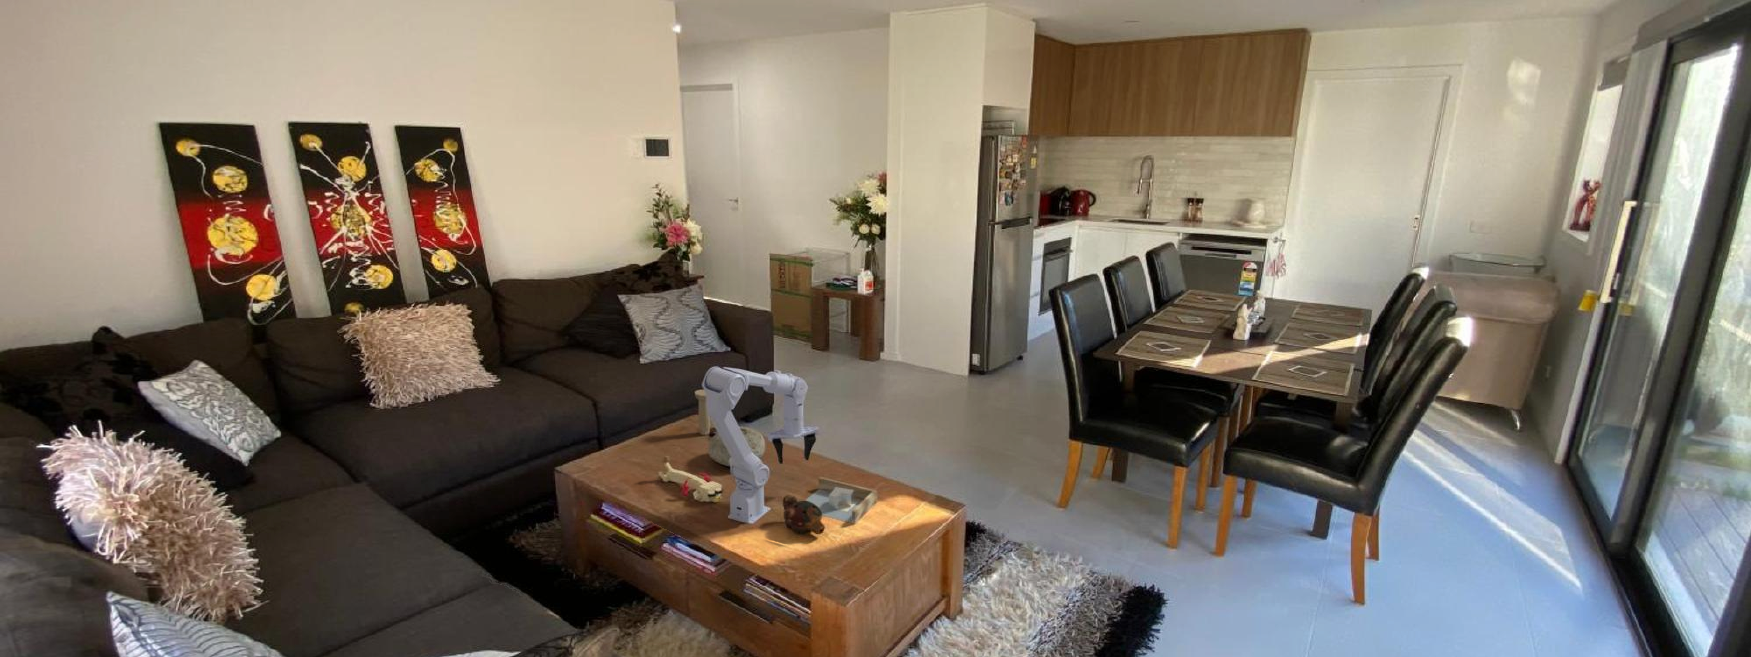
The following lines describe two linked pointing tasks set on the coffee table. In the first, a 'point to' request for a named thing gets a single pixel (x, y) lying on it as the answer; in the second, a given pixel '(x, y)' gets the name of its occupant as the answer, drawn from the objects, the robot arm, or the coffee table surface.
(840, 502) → the bracket
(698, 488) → the cream blocky elongated figure
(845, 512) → the board
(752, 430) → the decorative shell
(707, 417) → the handle
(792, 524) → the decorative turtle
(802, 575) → the coffee table surface
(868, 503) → the walls
